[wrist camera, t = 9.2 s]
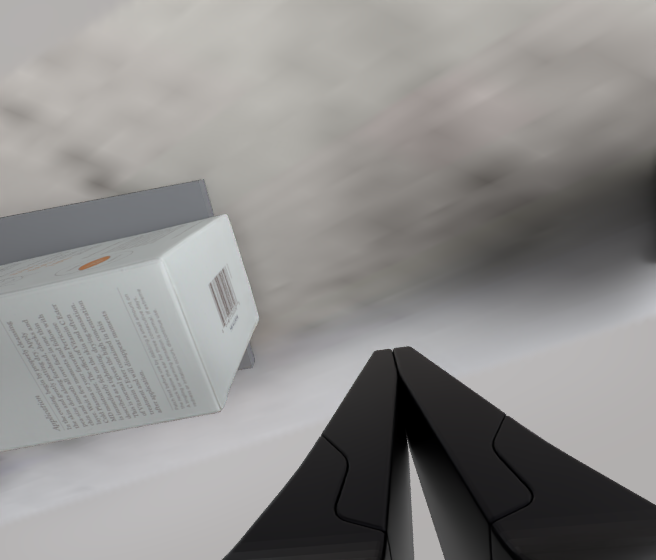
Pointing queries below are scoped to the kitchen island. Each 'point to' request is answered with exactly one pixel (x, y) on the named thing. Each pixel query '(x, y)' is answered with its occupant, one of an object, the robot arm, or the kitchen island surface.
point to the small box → (122, 333)
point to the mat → (105, 224)
